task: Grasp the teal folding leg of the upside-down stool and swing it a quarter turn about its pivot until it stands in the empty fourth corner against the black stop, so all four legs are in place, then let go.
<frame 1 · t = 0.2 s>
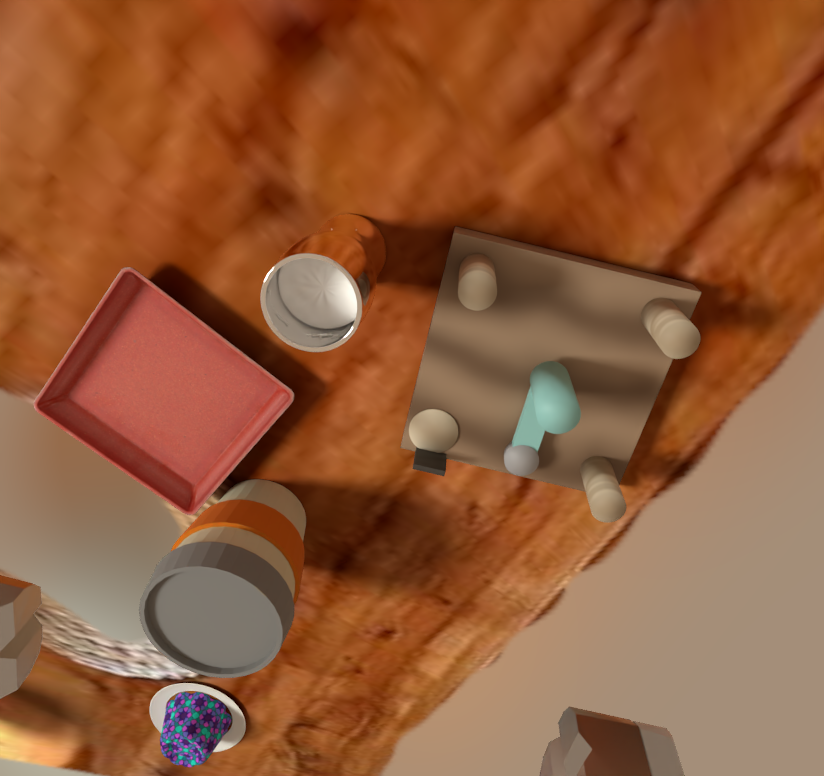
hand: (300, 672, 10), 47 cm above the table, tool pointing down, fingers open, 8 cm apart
plant saucer: (176, 386, 63), on the table
purple patterned hat: (200, 711, 82), on the table
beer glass: (351, 249, 56), on the table
reusable coffee cup: (263, 515, 68), on the table
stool: (537, 364, 58), on the table
folding leg: (538, 435, 54), point 7 cm above the table, hinge at 0.0°
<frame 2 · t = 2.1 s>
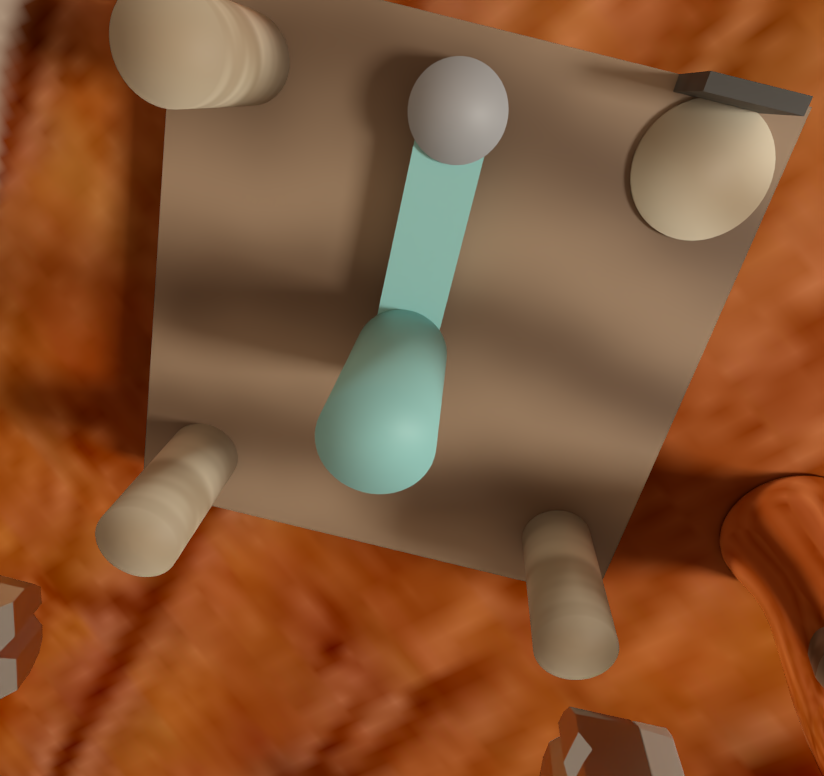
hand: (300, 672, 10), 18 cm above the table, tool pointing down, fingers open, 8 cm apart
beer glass: (788, 530, 29), on the table
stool: (426, 309, 27), on the table
folding leg: (420, 263, 19), point 7 cm above the table, hinge at 0.0°
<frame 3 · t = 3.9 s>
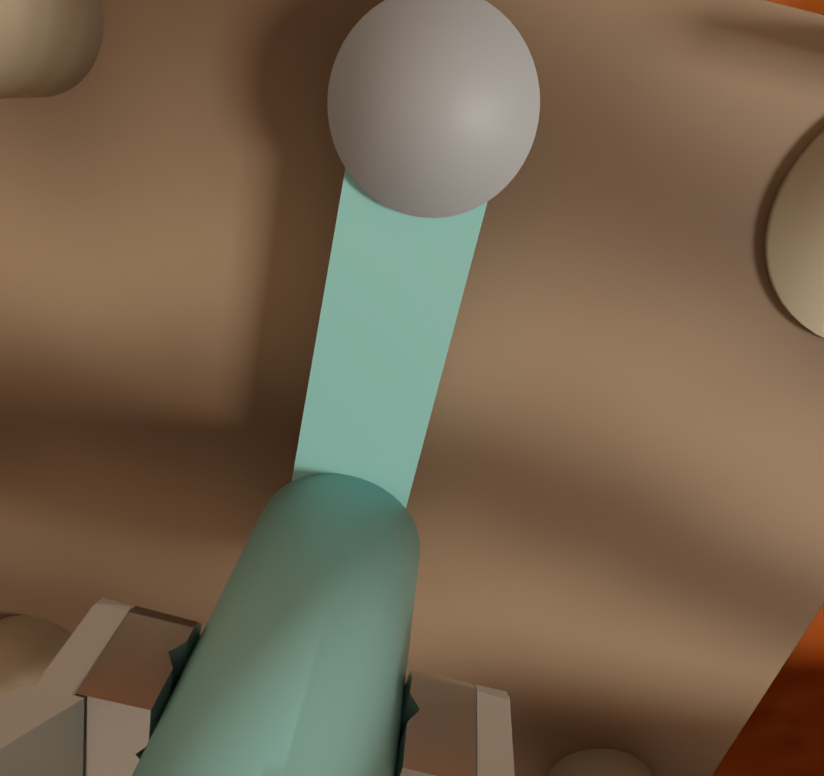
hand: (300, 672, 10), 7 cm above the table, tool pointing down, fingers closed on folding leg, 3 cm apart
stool: (391, 430, 16), on the table
folding leg: (351, 441, 9), point 7 cm above the table, hinge at 0.0°, touching gripper
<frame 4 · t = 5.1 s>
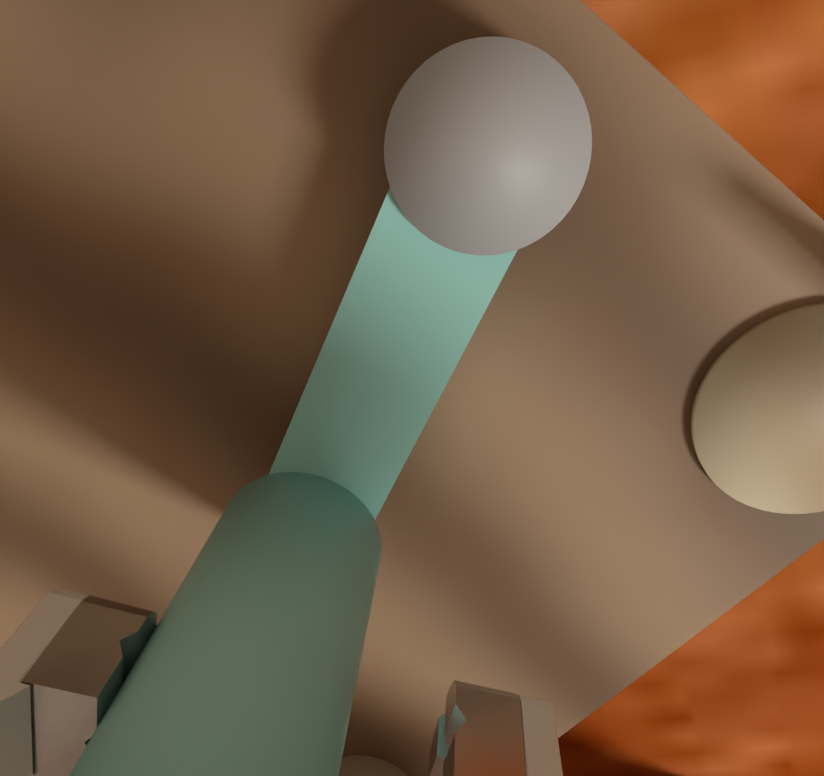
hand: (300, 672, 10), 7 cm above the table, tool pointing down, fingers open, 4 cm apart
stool: (305, 406, 16), on the table
folding leg: (353, 457, 9), point 7 cm above the table, hinge at 12.4°, touching gripper
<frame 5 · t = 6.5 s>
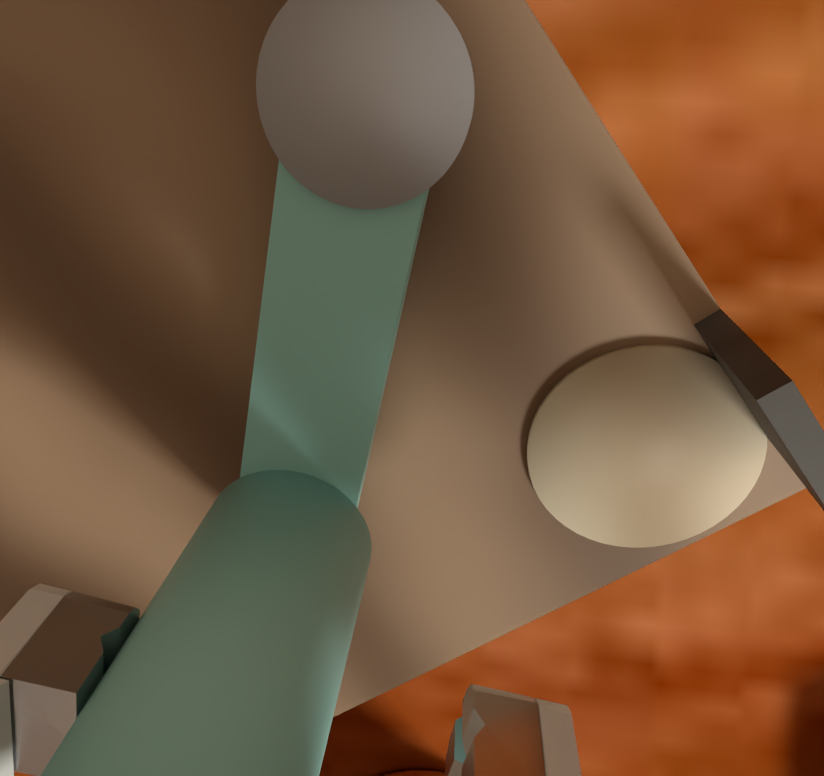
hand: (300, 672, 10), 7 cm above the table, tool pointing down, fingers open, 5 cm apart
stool: (164, 326, 15), on the table
folding leg: (273, 439, 9), point 7 cm above the table, hinge at 39.3°, touching gripper
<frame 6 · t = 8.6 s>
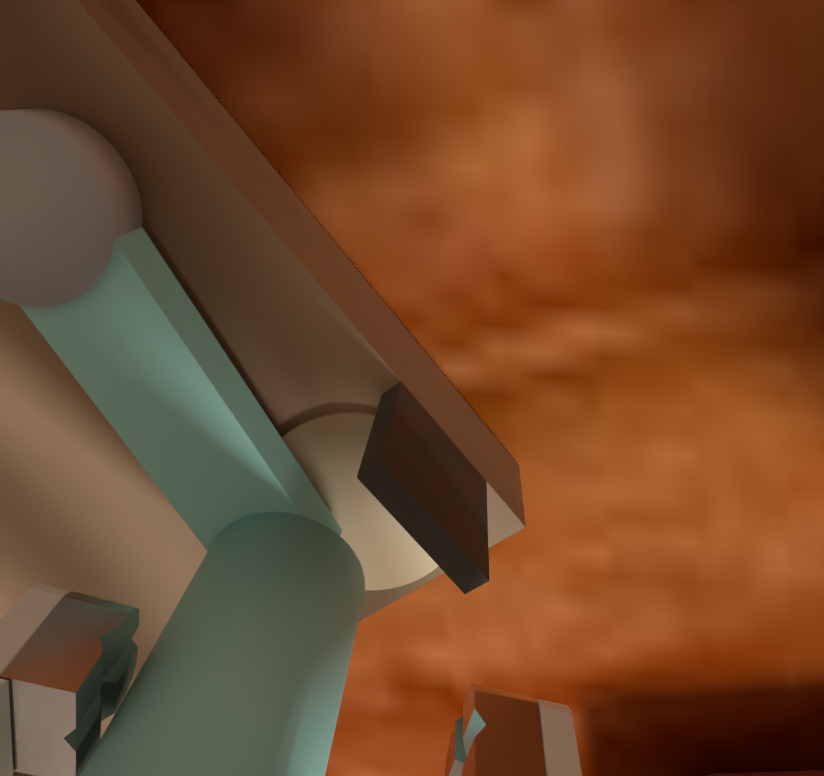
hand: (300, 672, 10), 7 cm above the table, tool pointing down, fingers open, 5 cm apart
folding leg: (89, 507, 9), point 7 cm above the table, hinge at 78.9°
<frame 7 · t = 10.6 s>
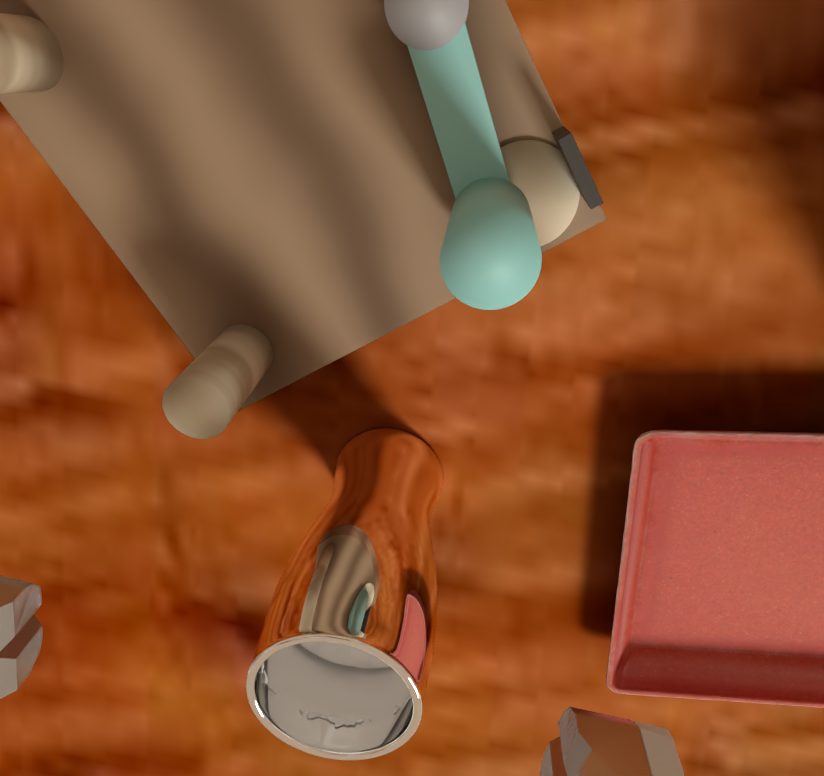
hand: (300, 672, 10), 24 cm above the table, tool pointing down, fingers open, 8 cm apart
plant saucer: (772, 543, 37), on the table
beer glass: (390, 472, 38), on the table
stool: (295, 120, 30), on the table
folding leg: (457, 124, 23), point 7 cm above the table, hinge at 78.9°
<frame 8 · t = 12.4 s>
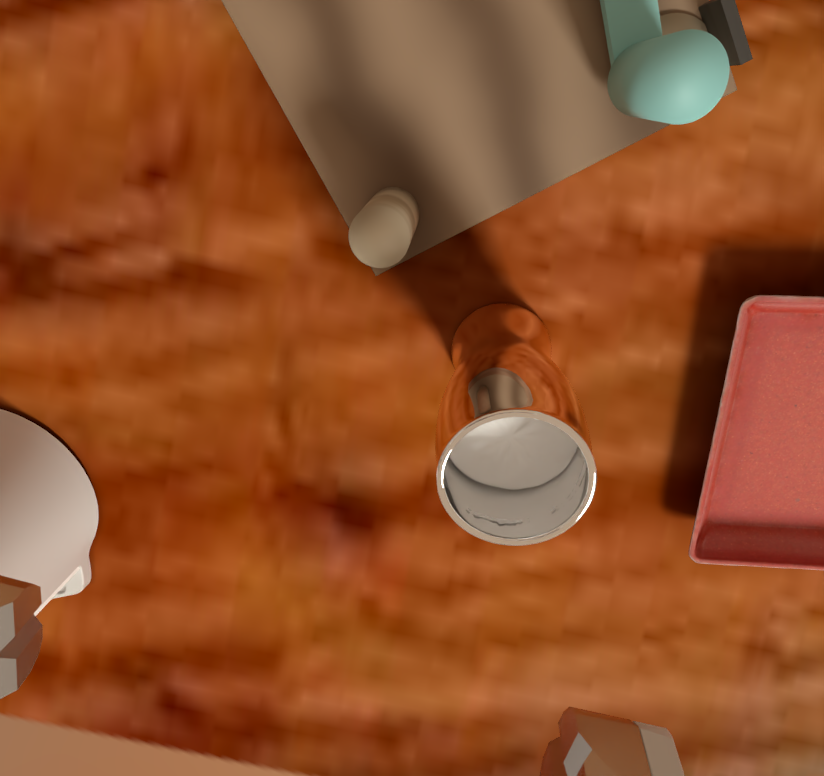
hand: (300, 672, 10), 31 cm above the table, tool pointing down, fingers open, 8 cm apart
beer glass: (500, 348, 41), on the table
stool: (457, 0, 33), on the table
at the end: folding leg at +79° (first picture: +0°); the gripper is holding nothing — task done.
